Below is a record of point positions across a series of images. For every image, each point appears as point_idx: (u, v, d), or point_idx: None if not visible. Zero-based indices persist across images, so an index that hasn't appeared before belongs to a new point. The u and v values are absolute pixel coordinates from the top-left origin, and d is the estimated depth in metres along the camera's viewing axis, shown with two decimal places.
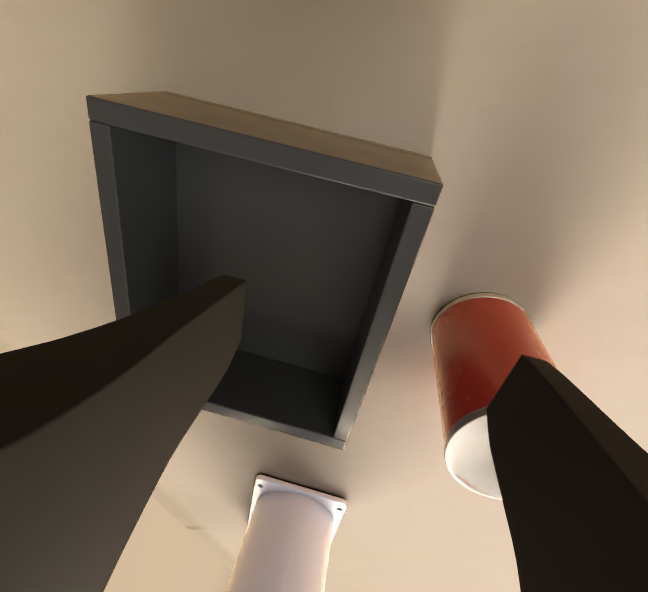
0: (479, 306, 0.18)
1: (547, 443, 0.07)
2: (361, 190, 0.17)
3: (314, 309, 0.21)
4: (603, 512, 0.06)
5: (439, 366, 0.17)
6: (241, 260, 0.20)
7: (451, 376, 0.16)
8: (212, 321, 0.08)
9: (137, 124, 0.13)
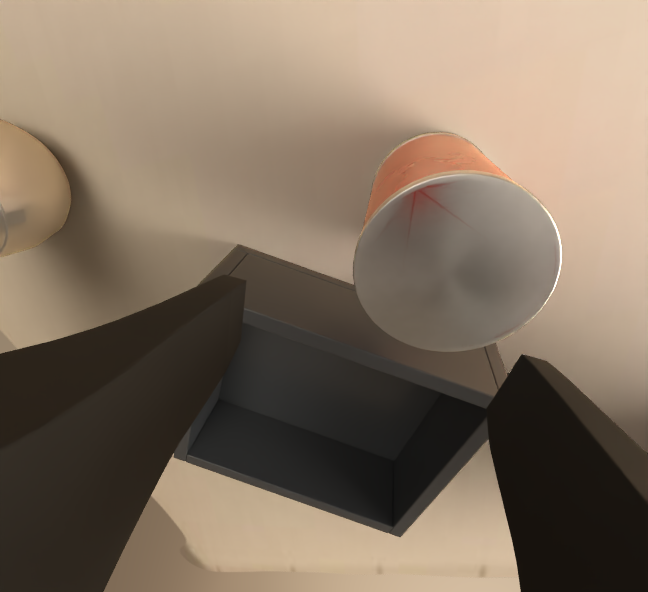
0: None
1: (547, 443, 0.07)
2: None
3: None
4: (603, 512, 0.06)
5: None
6: (321, 395, 0.23)
7: None
8: (212, 321, 0.08)
9: (183, 442, 0.21)
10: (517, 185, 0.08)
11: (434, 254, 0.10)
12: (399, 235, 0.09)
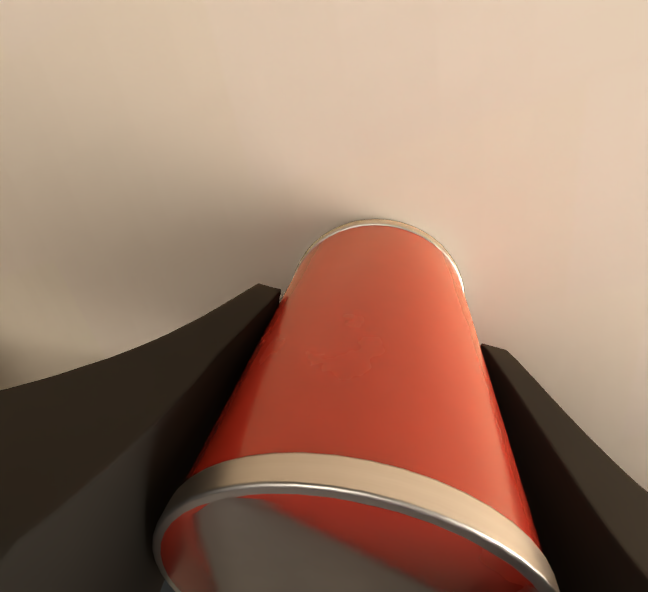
0: None
1: None
2: None
3: None
4: (540, 494, 0.06)
5: None
6: None
7: None
8: (253, 332, 0.08)
9: None
10: (436, 511, 0.03)
11: (297, 583, 0.05)
12: (220, 553, 0.05)
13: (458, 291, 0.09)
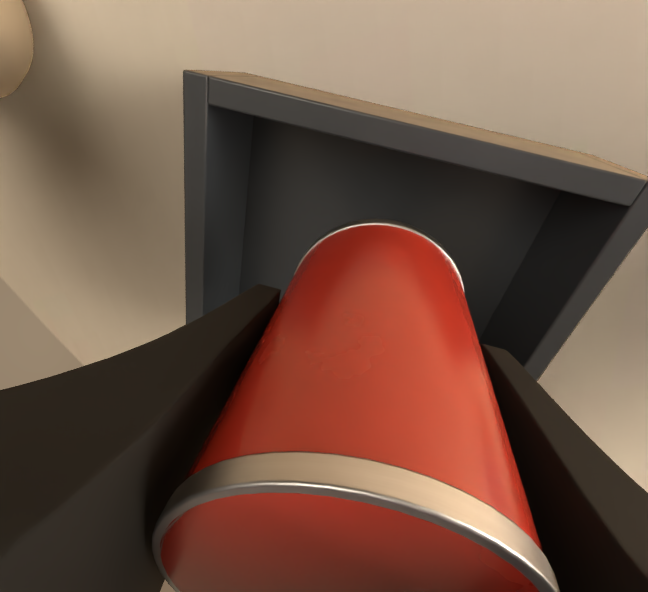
0: None
1: None
2: (278, 152, 0.16)
3: (431, 212, 0.16)
4: (540, 494, 0.06)
5: None
6: None
7: None
8: (253, 332, 0.08)
9: None
10: (436, 509, 0.03)
11: (296, 582, 0.05)
12: (219, 552, 0.05)
13: (458, 290, 0.09)
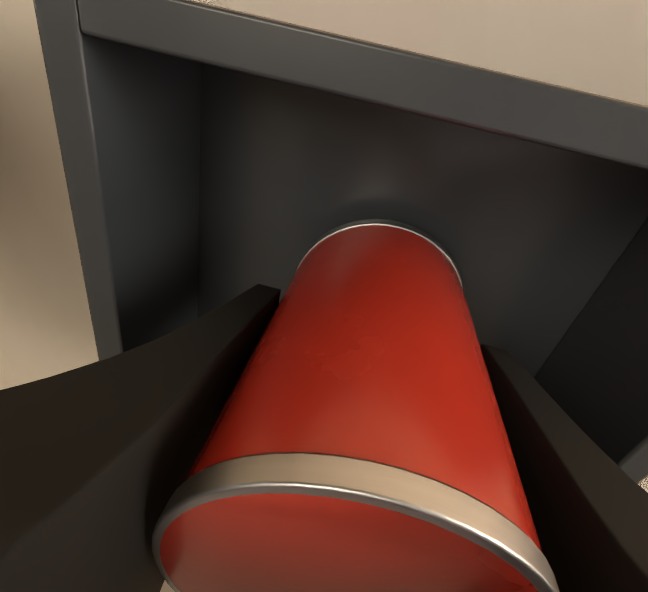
0: None
1: None
2: (240, 134, 0.11)
3: (464, 223, 0.11)
4: (540, 494, 0.06)
5: None
6: None
7: None
8: (253, 332, 0.08)
9: None
10: (435, 510, 0.03)
11: (296, 582, 0.05)
12: (219, 553, 0.05)
13: (458, 291, 0.09)
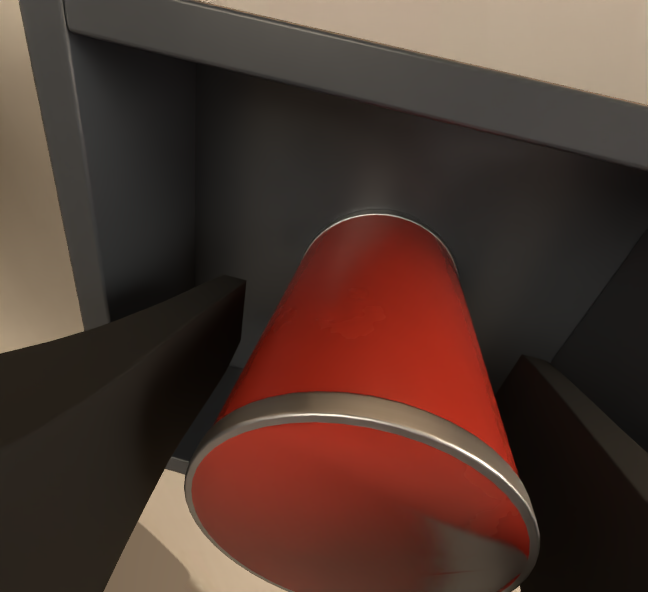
0: None
1: (547, 443, 0.07)
2: (236, 136, 0.11)
3: (465, 226, 0.11)
4: (603, 512, 0.06)
5: None
6: None
7: None
8: (212, 321, 0.08)
9: None
10: (428, 433, 0.04)
11: (310, 512, 0.05)
12: (244, 486, 0.05)
13: (452, 274, 0.09)
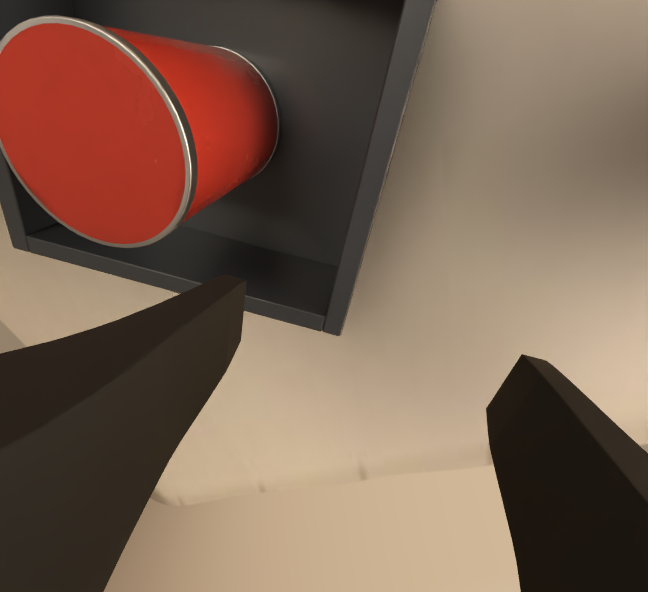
0: None
1: (547, 443, 0.07)
2: None
3: (274, 56, 0.14)
4: (603, 512, 0.06)
5: None
6: None
7: None
8: (212, 321, 0.08)
9: (12, 209, 0.15)
10: (88, 23, 0.08)
11: (62, 126, 0.09)
12: (21, 109, 0.09)
13: (243, 72, 0.13)
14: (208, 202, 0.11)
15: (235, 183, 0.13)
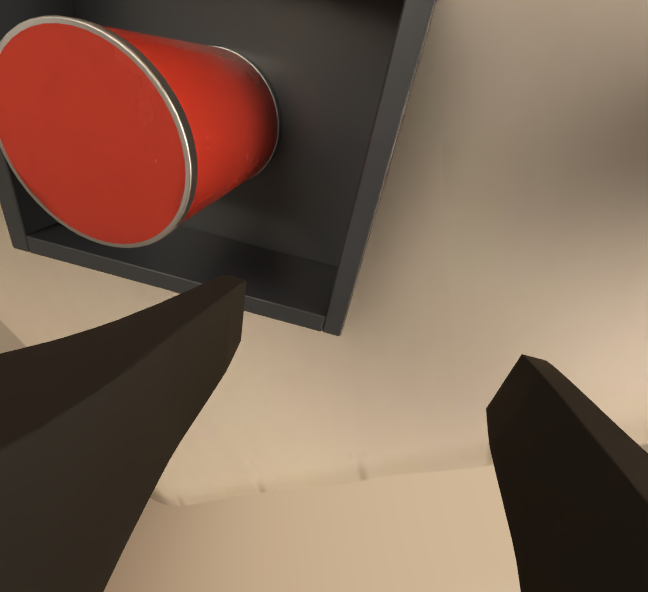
0: None
1: (547, 443, 0.07)
2: None
3: (274, 56, 0.14)
4: (603, 512, 0.06)
5: None
6: None
7: None
8: (212, 321, 0.08)
9: (12, 209, 0.15)
10: (88, 23, 0.08)
11: (62, 126, 0.09)
12: (21, 109, 0.09)
13: (243, 72, 0.13)
14: (208, 202, 0.11)
15: (235, 183, 0.13)
